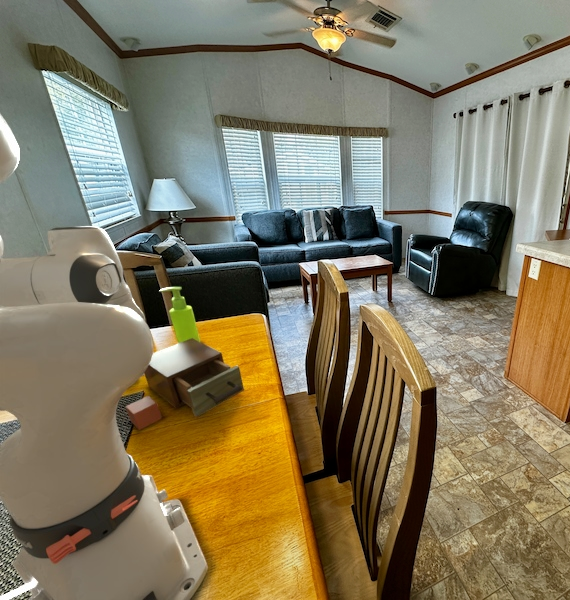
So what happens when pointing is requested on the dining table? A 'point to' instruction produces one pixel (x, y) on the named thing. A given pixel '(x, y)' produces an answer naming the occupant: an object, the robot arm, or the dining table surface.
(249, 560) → the dining table surface
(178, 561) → the robot arm
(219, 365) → the drawer
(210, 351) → the cabinet
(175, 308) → the soap dispenser
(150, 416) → the block
